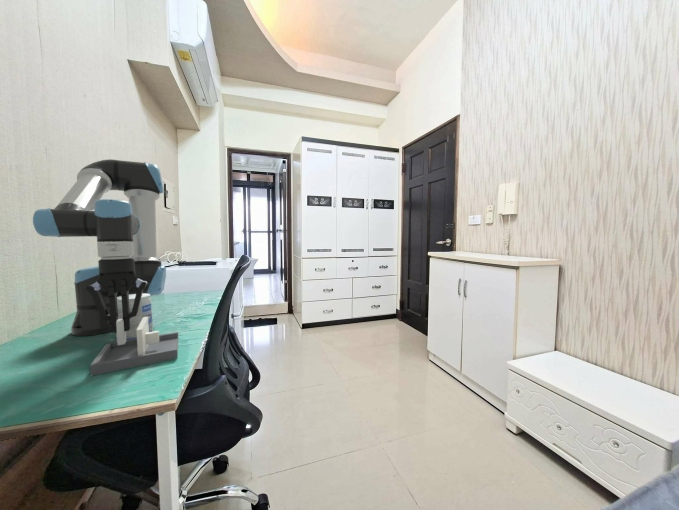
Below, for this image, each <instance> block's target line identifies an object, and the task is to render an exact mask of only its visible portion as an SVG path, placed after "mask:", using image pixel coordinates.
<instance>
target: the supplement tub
mask: <svg viewBox="0 0 679 510" xmlns="http://www.w3.org/2000/svg"><path fill="white" fill-rule="evenodd" d="M135 296H136V294H130V295H129V307H130V312H132V309H133V304H134V300H135ZM117 305H118V316H119V317H118V319H123V312H122V297H121V296H119V297H117ZM152 307H153V304H152V297H151V296H150V294H146V293H142V297H141V301H140V305H139V310H138V313H137V315H136V316H135V317H132V318H130V329H129V331H126V340H130V339H136V338H137V331H136V330H137V328H138V326H139V324H140V322H141V320H142V318H143V317H148V324H149V332H153V331H154V327H153V325H154V324H153V322H154V321H153V308H152ZM115 335H116V336H115V338H116V340H117V333H115Z"/></svg>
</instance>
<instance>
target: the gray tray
mask: <svg viewBox="0 0 679 510" xmlns="http://www.w3.org/2000/svg"><path fill="white" fill-rule="evenodd" d="M178 353H179V332H178V331H175V332H169V333H163V334H159V342H158V343H152V344H149V345H148V348H147V351H146V354H143V355H138V348H137V338H136V339H130V340H126V343H125V344H123V345H118V343H117V341H112V342H106V343H105V344H104V346H103V347H102V349H101V350H100V351H99V353H98V354H97V355H96V357H95V358H94V360H93V361H92V362H91V364H90V365H89V369H90V370H89V373H90V377H92V376H96V375H101V374H107V373H111V372H115V371H117V372H118V371H121V370H126V369H130V368H132V369H133V368H137V367H141V366H146V365H147V366H148V365H151V364H156V363H161V362H167V361H172V360H177V359H178V355H179V354H178Z"/></svg>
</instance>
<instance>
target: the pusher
mask: <svg viewBox="0 0 679 510" xmlns="http://www.w3.org/2000/svg"><path fill="white" fill-rule="evenodd" d="M136 331H137V348H138V355H143V354H146V351H147V348H148V345H149V344H152V343H158V342H159V335H160V330H153V332H149V324H148V317H143V318H142V320H141V322H140V324H139V326H138V328H137V330H136Z"/></svg>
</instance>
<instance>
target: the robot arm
mask: <svg viewBox="0 0 679 510" xmlns="http://www.w3.org/2000/svg"><path fill="white" fill-rule="evenodd" d="M109 191H121V192H123V195H124V196H125V197H126V198H127V199H128V201H126V200H122V199H107V198H105V199H102V198H103V196H104V194H106V193H108V192H109ZM164 192H165V190H164V184H163V180H162V175H161V171H160V167H159V165H157V164H155V163H148V162H140V161H130V160H121V159H120V160H119V159H110V158H109V159H101V160H98V161H95V162H92V163H90V164H87V165H85V166H84V167H83V168H81V169H80V170H79V171H78V173H77V174H76V182H75V183H74V184H73V185H72V186H71V188H70V189H69V190H68V192H67V193H65V195H64V196H63V198H62V199H61V200H60V201H59V202H58V203H57V205H56V206H55V207H54V208H53V209H52V208H39V209H36V210H35V211H34V212H33V216H32V225H33V228H34V230H35V231H36V233H37V234H38V235H40V236H43V237H53V238H54V237H57V238H61V237H63V238H64V237H65V238H67V237H70V238H71V237H75V238H78V237H82V238H83V237H96V241H97V242H96V244H97V245H96V246H97V247H96V248H97V257H98V258H100V259H99V260H98V261H97V264H98V265H96V266H91V267H86V268H80V269H78V270H77V271H75V273H74V283H73V285H74V289H75V291H74V293H75V303H76V313H75V316H74V319H73V322H72V325H71V327H70V332H71V335H72V336H74V337H75V336H76V337H80V336H82V337H85V336H94V335H95V336H96V335H100V334H105V333H106V334H107V333H110V332H112V334H116V333H117V339H116V342H117V343H118V345H123V344H125V343H126V331H129V329H130V318H132V317H135V316H136V315H137V313H138V310H139V305H140V301H141V297H142V293H146V294H150V296H153V297H154V296H158V295H159V296H160V295H161V294H162V293H163V291H164V288H165V285H166V278H167V267H166V266H165V265H163V264H162V261H161V260H160V259H159V258H158V257H157V256H158V255H157V254H158V253H157V252H158V251H157V225H156V224H157V223H156V222H157V221H156V220H157V219H156V201H157V200H159V198H161V197H160V194H163V193H164ZM130 294H136V296H135V300H134V304H133V309H132V312H130V307H129V295H130ZM119 296H121V297H122V312H123V319H118V317H119V316H118V305H117V297H119Z"/></svg>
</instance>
